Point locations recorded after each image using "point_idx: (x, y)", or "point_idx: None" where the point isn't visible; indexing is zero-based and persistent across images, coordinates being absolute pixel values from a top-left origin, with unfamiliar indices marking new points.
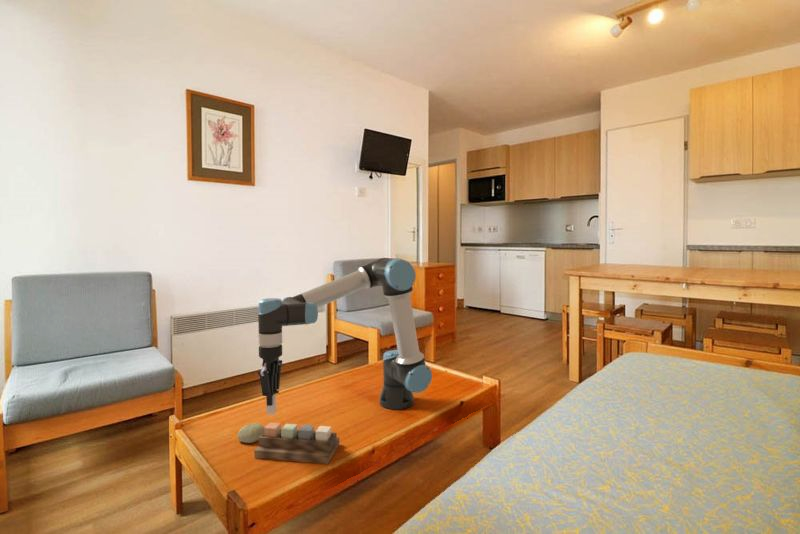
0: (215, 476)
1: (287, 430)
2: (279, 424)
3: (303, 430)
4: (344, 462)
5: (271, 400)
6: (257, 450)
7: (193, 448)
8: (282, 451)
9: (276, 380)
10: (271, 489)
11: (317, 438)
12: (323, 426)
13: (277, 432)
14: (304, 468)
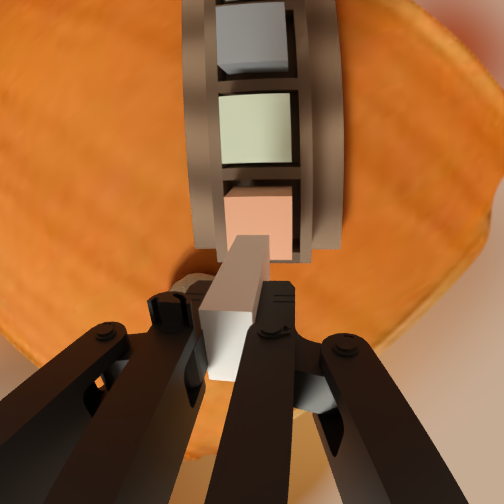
0: (433, 299)
1: (290, 123)
2: (238, 197)
3: (282, 33)
4: None
5: (274, 304)
6: (340, 237)
7: (297, 413)
8: (335, 130)
9: (99, 430)
10: (483, 109)
11: None
12: None
13: (270, 189)
14: (373, 33)
